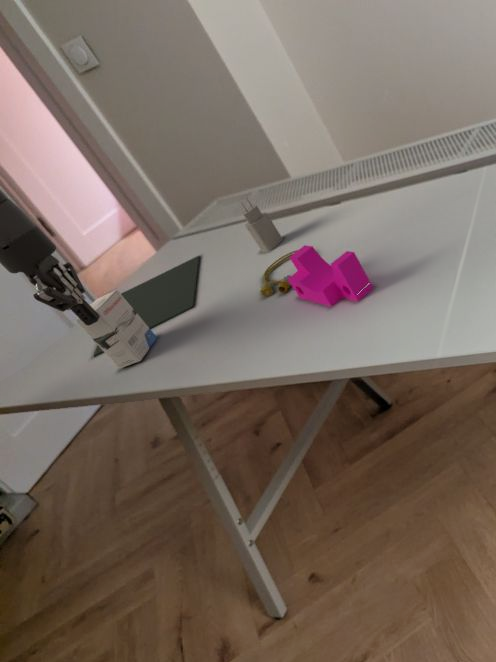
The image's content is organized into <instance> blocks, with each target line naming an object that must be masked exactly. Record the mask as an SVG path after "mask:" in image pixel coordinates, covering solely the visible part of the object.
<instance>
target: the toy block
mask: <svg viewBox="0 0 496 662" xmlns="http://www.w3.org/2000/svg"><path fill="white" fill-rule="evenodd" d="M297 250H298V251H296V250H295V251H296V252H295V253H294V254H293V253H292V255H291V254H290V255H291V256H290V257H289V258H290V259H289V258H288V259H289V260H290V261H291V262H292V264H293V266H294V267H295V269H296V270H297V271H295V272H294V273H293V274H291V275H290V276H291V277H289V278H288V281H289V282H290V284H291V285H290V286H291V287H292V289H293V290H294V292H295V293H296V295H297V297H298V298H299V299H302V300H306V301H310V302H314V303H318V304H322V305H324V306H329V307H333V306H334V305H335V304H336V303H338V301H340V300H341V299H347V300H351V301H355V302H360V300H361V299H363V298H364V297H365V296H367V294H368V293H370V292H371V291H372V290H373V289H374V286H373V284H372V282H371V281H370V279H369V277H368V275H367V273H366V271H365V269H364V268H363V265H362V264H361V262H360V260H359V258H358V256H357V255H356V252H355V251H349V250H346V251H345V252H343V254H341V255H340V256H339V257H338V258H336V259H335V260H334V261H333V262H331V263H328V262H327V261H326V260H325V259H324V258H323V257H322V256H321V255H320V254H319V252H318V251H317V250H316V249H315V247H314V246H312V245H306V244H304V245H303V246H302V247H300V248H299V249H297ZM368 283H370V284H369V285H368V286H367V287H366V288H364V287H365V286H366V285H367V284H368ZM363 288H364V289H363ZM362 289H363V290H362ZM361 290H362V291H361ZM360 291H361V292H360ZM359 292H360V293H359ZM358 293H359V294H358ZM357 294H358V295H357Z"/></svg>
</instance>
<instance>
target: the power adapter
mask: <svg viewBox="0 0 496 662" xmlns="http://www.w3.org/2000/svg"><path fill="white" fill-rule="evenodd" d="M245 200H246V201H247V203H248V204H249V206H250V207H248V208H246V206H245V204H244V203H243V201H240V204H241V205H242V207H243V210H245V211H244V212H242V216H243V217H244V218H245V220H246V221H247V223H246V224H245V225H244V227H245V229H246V230H247V231H248V233H249V234H250V236H251V237H252V239H253V240H254V242H255V244H256V245H257V246H258V248H259V250H261V252H262V253H269V252H272V251H273V250H274V249H275V248H276V247H277V246H278V245H279V244H280V243H281V242H282V241H283V240H284V239H283V237H282V236H281V233H280V232H279V230H278V229H277V227H276V225H275V224H274V222H273V221H272V219H271V218H270V216H269V214H268V212H262V211H261V209H260V208H259V206H258V205H257V204H254V205H253V204H252V203H251V202H250V200H249V199H248V197H245Z"/></svg>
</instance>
